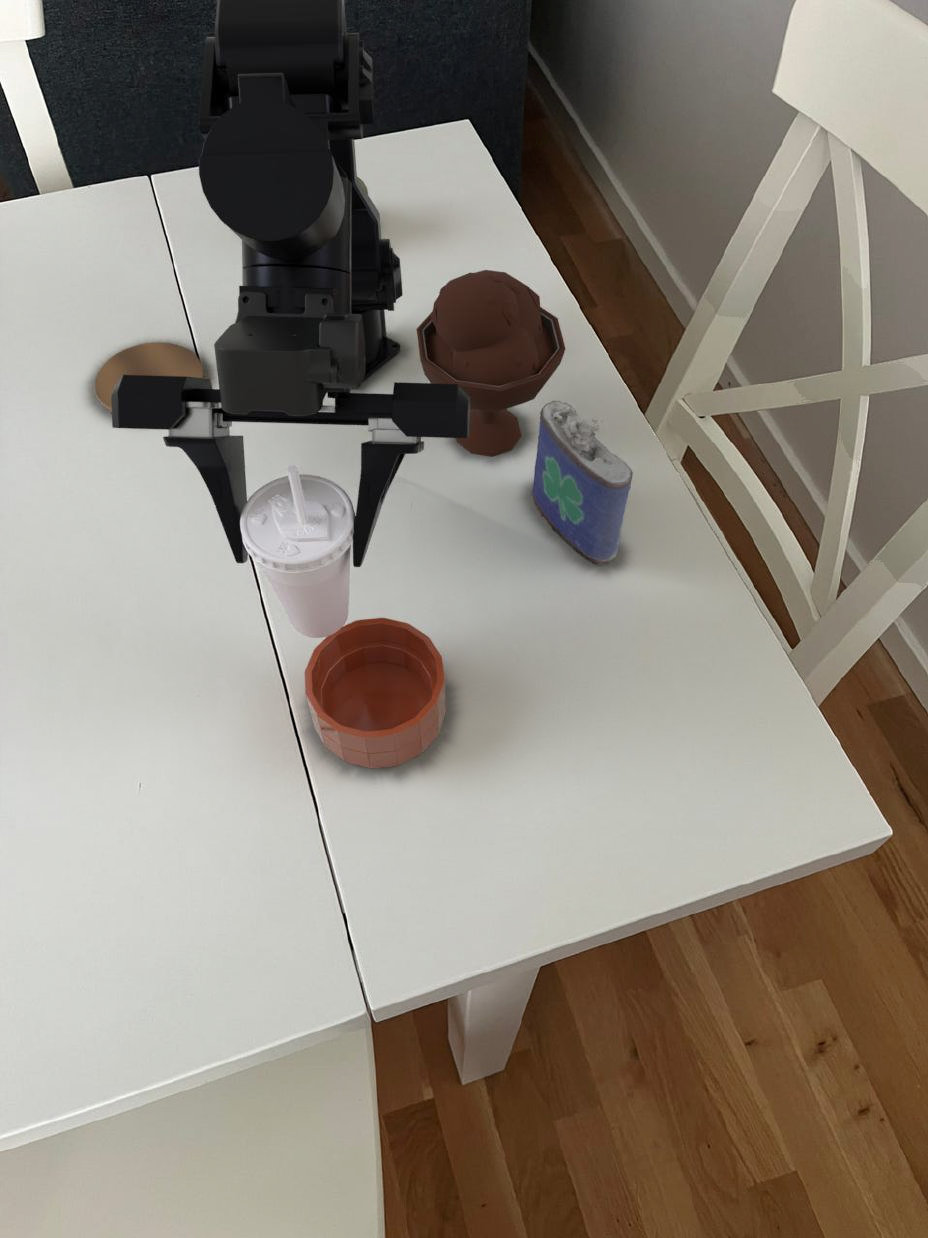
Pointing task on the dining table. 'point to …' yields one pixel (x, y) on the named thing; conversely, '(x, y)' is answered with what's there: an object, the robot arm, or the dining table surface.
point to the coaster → (146, 366)
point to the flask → (579, 484)
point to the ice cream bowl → (490, 352)
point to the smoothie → (303, 548)
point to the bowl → (376, 692)
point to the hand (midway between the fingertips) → (299, 564)
